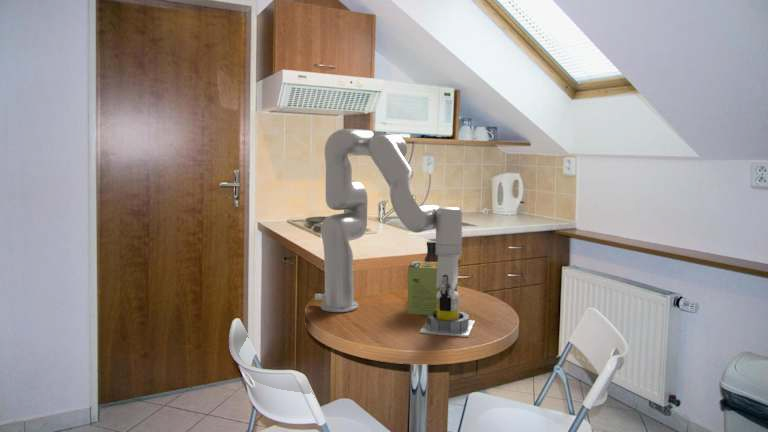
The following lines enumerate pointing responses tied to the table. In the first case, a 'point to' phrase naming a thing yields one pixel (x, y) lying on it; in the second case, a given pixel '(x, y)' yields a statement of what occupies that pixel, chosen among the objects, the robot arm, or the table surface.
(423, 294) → the protein box
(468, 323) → the ring collar
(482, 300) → the table surface
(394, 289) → the table surface
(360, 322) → the table surface
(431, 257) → the sauce bottle
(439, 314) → the supplement bottle
